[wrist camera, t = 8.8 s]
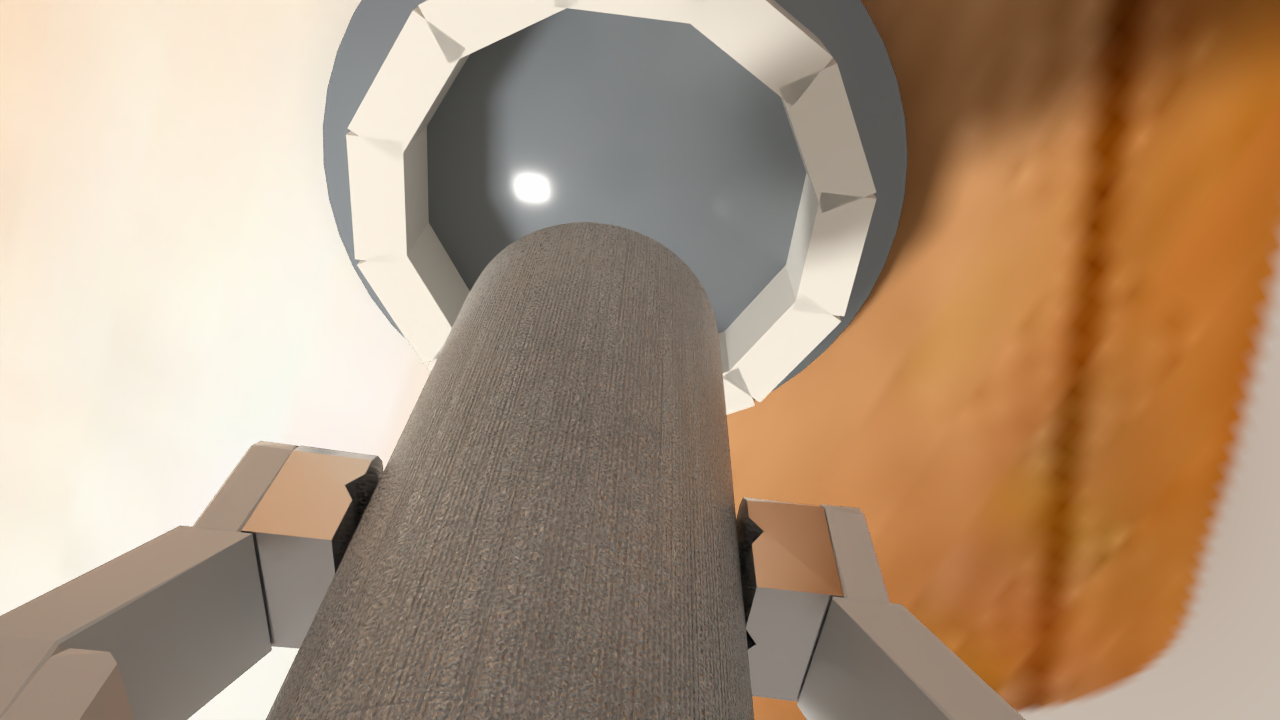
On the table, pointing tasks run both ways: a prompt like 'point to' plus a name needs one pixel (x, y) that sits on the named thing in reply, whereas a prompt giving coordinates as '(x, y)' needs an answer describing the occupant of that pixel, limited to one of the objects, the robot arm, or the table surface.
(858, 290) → the ring dish
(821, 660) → the robot arm
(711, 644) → the grey cylinder
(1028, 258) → the table surface
